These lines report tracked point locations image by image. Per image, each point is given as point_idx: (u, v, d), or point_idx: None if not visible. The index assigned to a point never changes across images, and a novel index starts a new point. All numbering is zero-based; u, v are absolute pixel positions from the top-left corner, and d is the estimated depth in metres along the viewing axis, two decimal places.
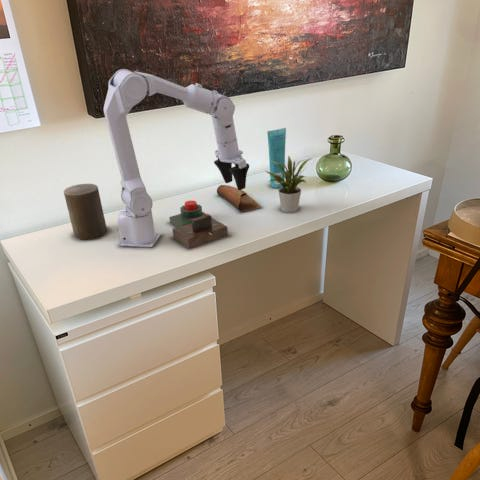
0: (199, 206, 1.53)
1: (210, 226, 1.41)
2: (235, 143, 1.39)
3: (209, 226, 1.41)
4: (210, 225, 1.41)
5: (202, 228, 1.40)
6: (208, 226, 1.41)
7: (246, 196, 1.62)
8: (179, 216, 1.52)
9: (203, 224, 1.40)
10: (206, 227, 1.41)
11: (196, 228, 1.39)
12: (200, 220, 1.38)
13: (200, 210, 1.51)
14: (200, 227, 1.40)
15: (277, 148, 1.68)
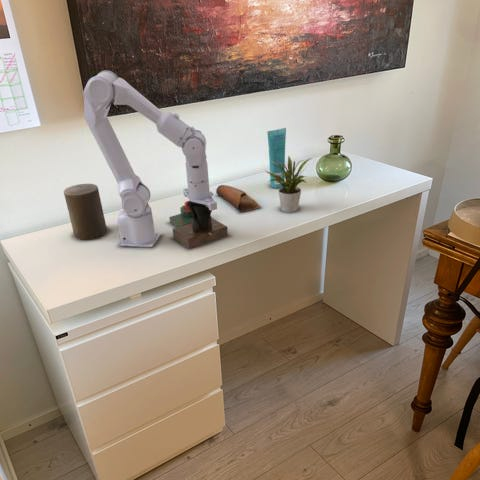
0: None
1: (210, 226, 1.41)
2: (207, 184, 1.32)
3: (209, 226, 1.41)
4: (210, 225, 1.41)
5: None
6: (208, 226, 1.41)
7: (246, 196, 1.62)
8: (179, 216, 1.52)
9: None
10: None
11: (196, 228, 1.39)
12: None
13: None
14: None
15: (277, 148, 1.68)
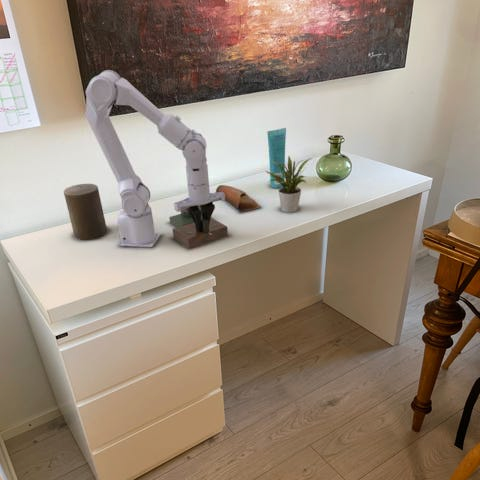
0: (199, 206, 1.53)
1: None
2: None
3: None
4: None
5: None
6: None
7: (245, 196, 1.62)
8: (179, 216, 1.52)
9: None
10: None
11: None
12: None
13: None
14: None
15: (277, 148, 1.68)
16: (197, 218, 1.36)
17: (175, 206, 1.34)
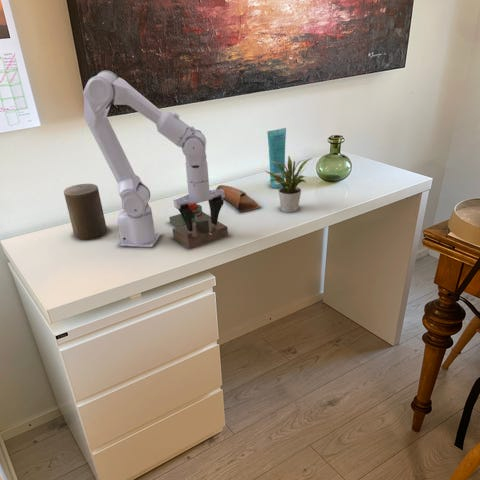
0: (199, 206, 1.53)
1: None
2: None
3: None
4: None
5: None
6: None
7: (245, 196, 1.62)
8: (179, 216, 1.52)
9: None
10: None
11: None
12: None
13: (200, 210, 1.51)
14: None
15: (277, 148, 1.68)
16: (188, 218, 1.35)
17: (175, 203, 1.33)
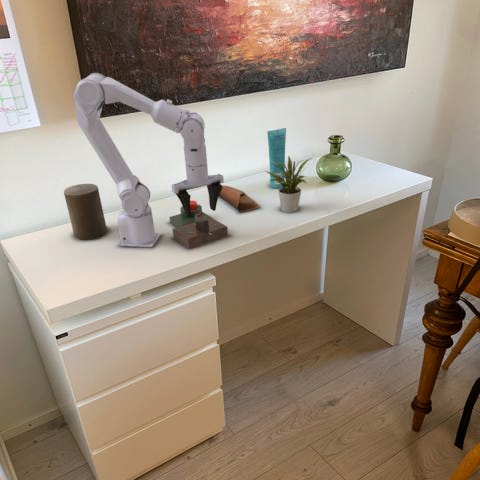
0: (199, 206, 1.53)
1: None
2: None
3: None
4: None
5: None
6: None
7: (245, 196, 1.62)
8: (179, 216, 1.52)
9: None
10: None
11: None
12: None
13: (200, 210, 1.51)
14: None
15: (277, 148, 1.68)
16: (186, 203, 1.33)
17: (173, 188, 1.31)
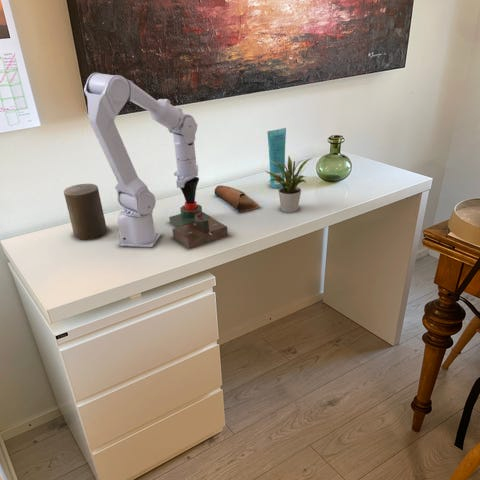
0: (199, 206, 1.53)
1: None
2: None
3: None
4: None
5: None
6: None
7: (245, 196, 1.62)
8: (179, 216, 1.52)
9: None
10: None
11: None
12: None
13: (200, 210, 1.51)
14: None
15: (277, 148, 1.68)
16: (193, 190, 1.47)
17: (179, 183, 1.41)
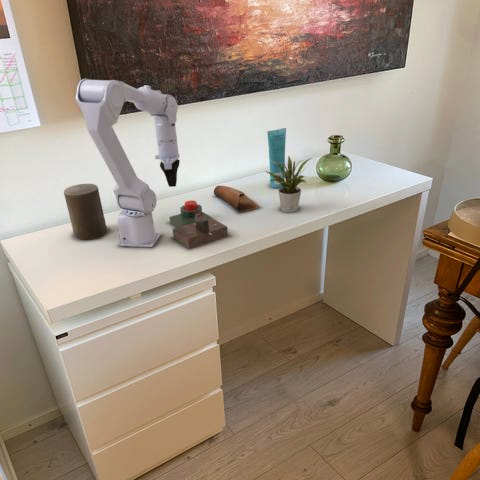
0: (199, 206, 1.53)
1: None
2: None
3: None
4: None
5: None
6: None
7: (244, 196, 1.62)
8: (179, 216, 1.52)
9: None
10: None
11: None
12: None
13: (200, 210, 1.51)
14: None
15: (277, 148, 1.68)
16: (176, 172, 1.47)
17: (167, 165, 1.40)
